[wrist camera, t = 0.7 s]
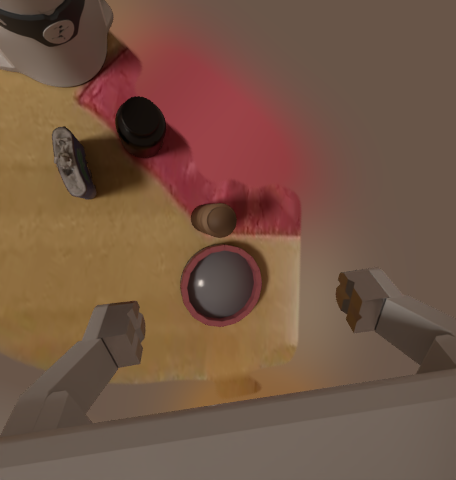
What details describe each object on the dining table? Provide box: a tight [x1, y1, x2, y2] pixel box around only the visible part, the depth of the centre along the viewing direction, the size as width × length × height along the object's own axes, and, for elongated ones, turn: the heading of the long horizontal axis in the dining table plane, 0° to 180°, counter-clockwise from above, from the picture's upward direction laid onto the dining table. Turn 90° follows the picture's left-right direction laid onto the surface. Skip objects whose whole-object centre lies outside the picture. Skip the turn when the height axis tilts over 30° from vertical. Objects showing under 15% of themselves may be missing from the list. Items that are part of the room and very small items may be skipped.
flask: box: [52, 126, 96, 199], centre depth 40 cm, size 9×3×11 cm, turn 12°
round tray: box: [180, 244, 262, 327], centre depth 52 cm, size 15×15×2 cm
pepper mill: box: [191, 203, 237, 238], centre depth 46 cm, size 5×5×12 cm
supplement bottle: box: [115, 96, 166, 158], centre depth 41 cm, size 7×7×12 cm
